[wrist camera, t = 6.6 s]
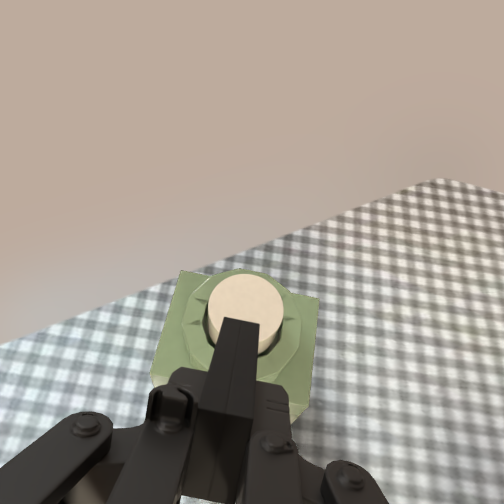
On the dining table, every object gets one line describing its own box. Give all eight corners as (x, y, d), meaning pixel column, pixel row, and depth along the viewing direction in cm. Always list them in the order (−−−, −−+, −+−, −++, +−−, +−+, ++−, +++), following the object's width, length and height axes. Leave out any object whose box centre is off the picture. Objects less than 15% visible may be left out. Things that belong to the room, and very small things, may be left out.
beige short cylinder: (281, 299, 28) (288, 281, 26) (271, 364, 26) (278, 350, 24) (215, 286, 28) (217, 266, 26) (199, 350, 26) (199, 334, 24)
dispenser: (289, 353, 41) (327, 284, 29) (278, 437, 37) (316, 398, 25) (185, 331, 41) (179, 254, 29) (162, 413, 37) (145, 363, 25)
